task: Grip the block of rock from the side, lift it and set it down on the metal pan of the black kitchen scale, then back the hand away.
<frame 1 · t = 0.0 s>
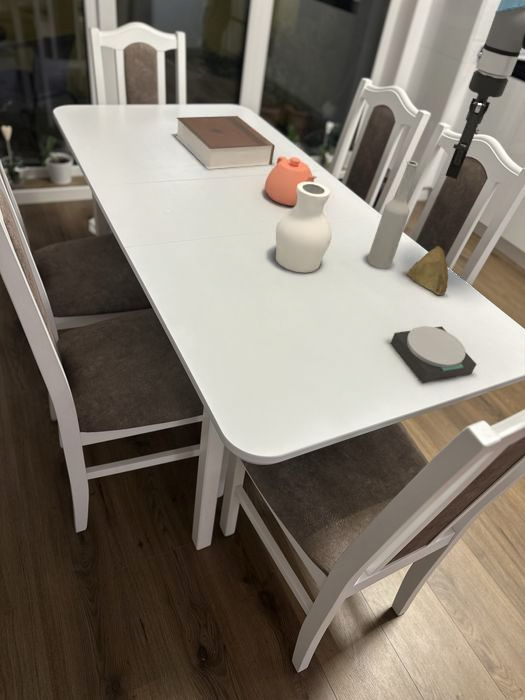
hand: (454, 168, 131), 28 cm above the table, tool pointing down, fingers open, 13 cm apart
rock: (425, 285, 143), on the table
bottle: (379, 262, 148), on the table
teapot: (289, 199, 169), on the table
book: (222, 150, 191), on the table
vase: (297, 260, 142), on the table
scale: (430, 358, 119), on the table
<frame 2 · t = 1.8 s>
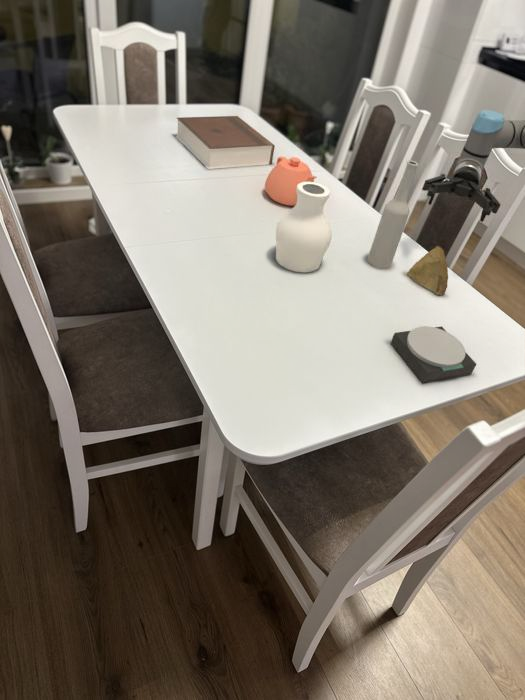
hand: (457, 208, 137), 19 cm above the table, tool horizontal, fingers open, 13 cm apart
nothing on the table moved.
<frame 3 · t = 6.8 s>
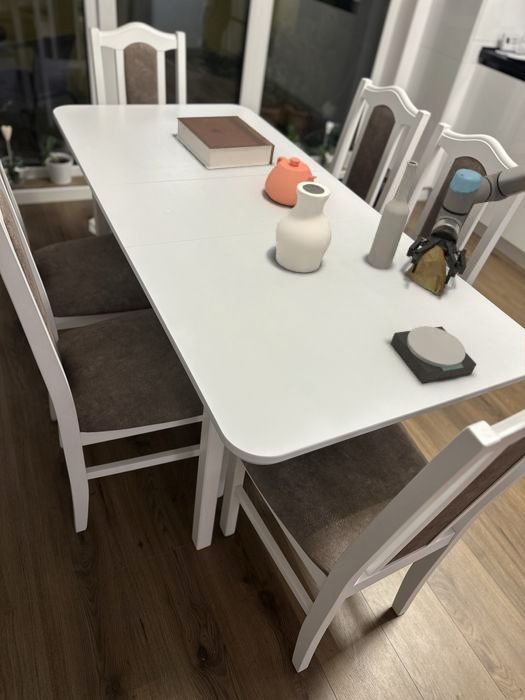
hand: (431, 274, 135), 6 cm above the table, tool horizontal, fingers closed on rock, 8 cm apart
rock: (424, 285, 143), on the table, touching gripper
everything else where it was.
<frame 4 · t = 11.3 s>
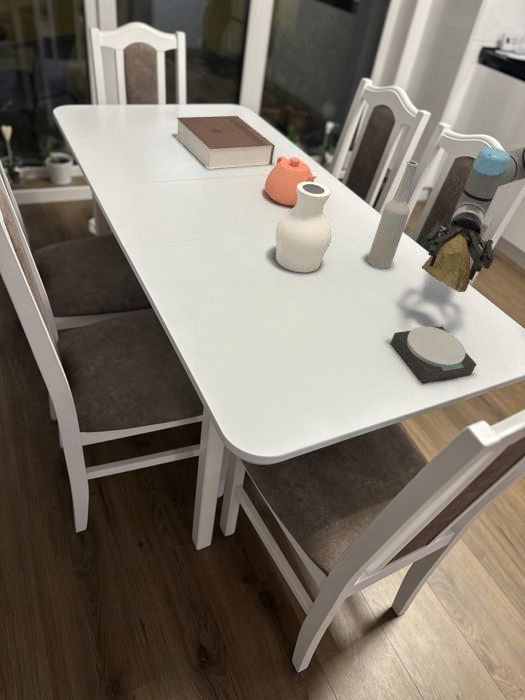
hand: (452, 267, 115), 18 cm above the table, tool horizontal, fingers closed on rock, 8 cm apart
rock: (443, 281, 122), point 12 cm above the table, touching gripper
everything else where it was.
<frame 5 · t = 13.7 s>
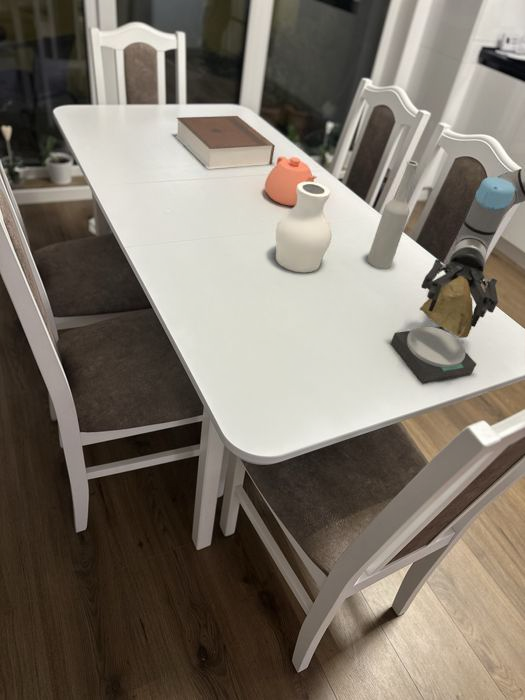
hand: (453, 313, 105), 16 cm above the table, tool horizontal, fingers closed on rock, 8 cm apart
rock: (443, 324, 113), point 9 cm above the table, touching gripper
everything else where it was.
when the fingers open (10 cm above the table, at t = 15.8 s): rock stays where it is, resting on scale.
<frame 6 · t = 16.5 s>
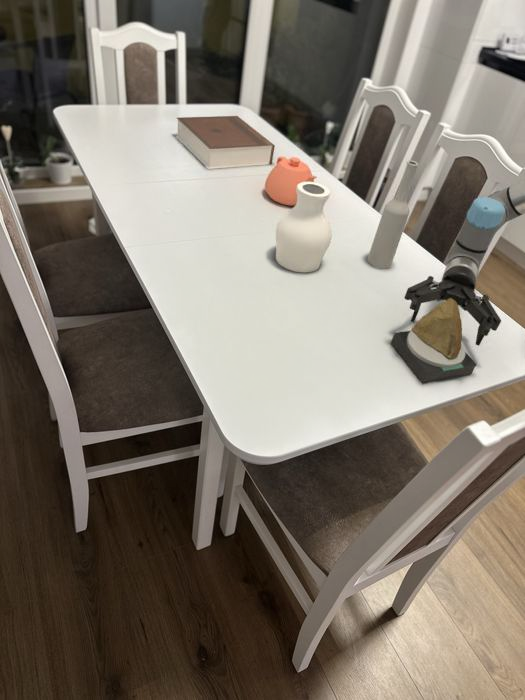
hand: (446, 328, 110), 11 cm above the table, tool horizontal, fingers open, 13 cm apart
rock: (434, 344, 117), point 4 cm above the table, touching scale
everything else where it was.
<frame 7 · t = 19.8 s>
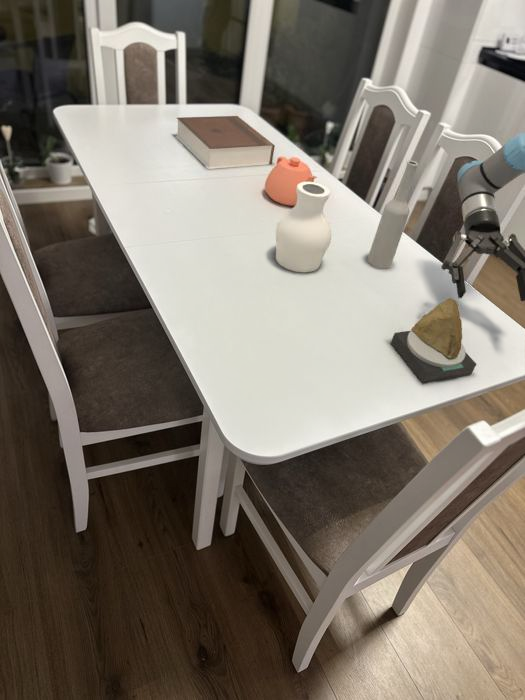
hand: (493, 296, 116), 14 cm above the table, tool tilted 65°, fingers open, 13 cm apart
nothing on the table moved.
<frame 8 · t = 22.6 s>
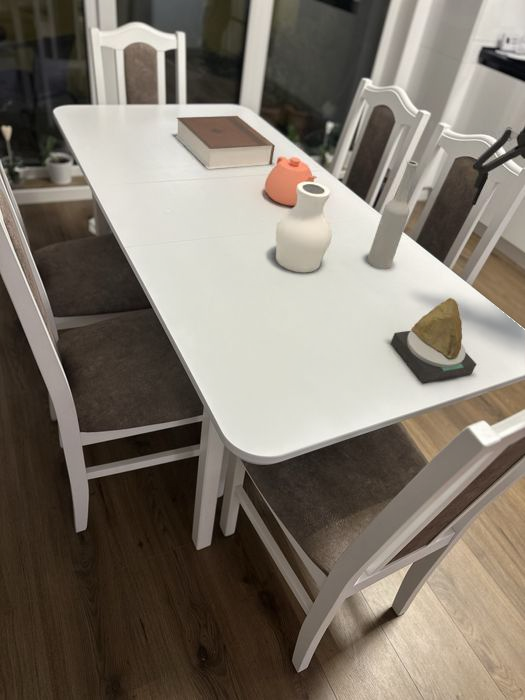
hand: (504, 212, 119), 27 cm above the table, tool pointing down, fingers open, 13 cm apart
nothing on the table moved.
at the end: rock inside the target area on the scale (0.5 cm from its centre), point 3.8 cm above the scale's base; rock tilted 2°; the gripper is holding nothing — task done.
